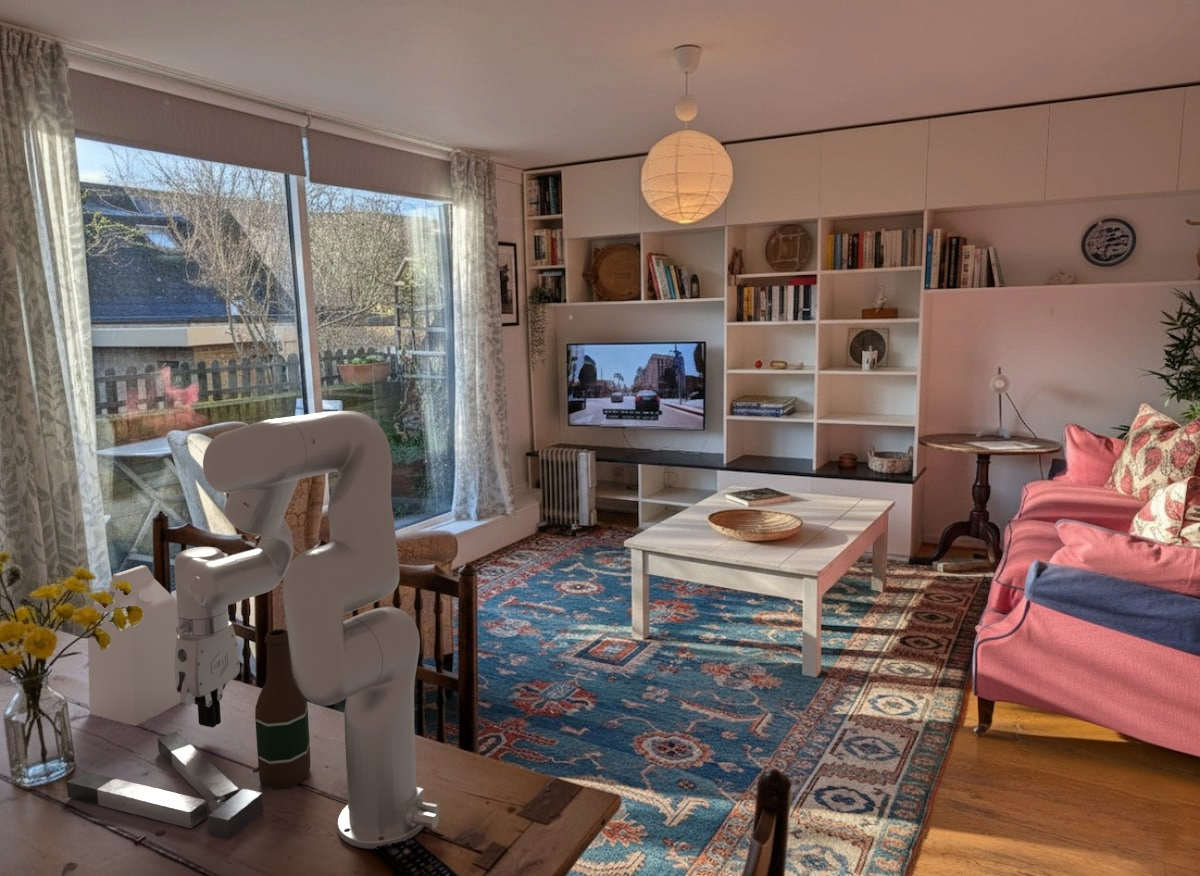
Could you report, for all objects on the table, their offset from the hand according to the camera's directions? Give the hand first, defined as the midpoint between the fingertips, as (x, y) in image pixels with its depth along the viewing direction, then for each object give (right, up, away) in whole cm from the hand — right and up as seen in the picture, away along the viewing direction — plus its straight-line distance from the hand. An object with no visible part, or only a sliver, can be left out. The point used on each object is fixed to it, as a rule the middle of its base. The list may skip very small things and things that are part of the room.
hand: (209, 723), depth 140 cm
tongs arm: (+3, -5, -12) cm, 14 cm away
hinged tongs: (+2, -6, -18) cm, 19 cm away
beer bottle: (+17, -5, -10) cm, 20 cm away
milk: (-19, -1, +13) cm, 23 cm away
